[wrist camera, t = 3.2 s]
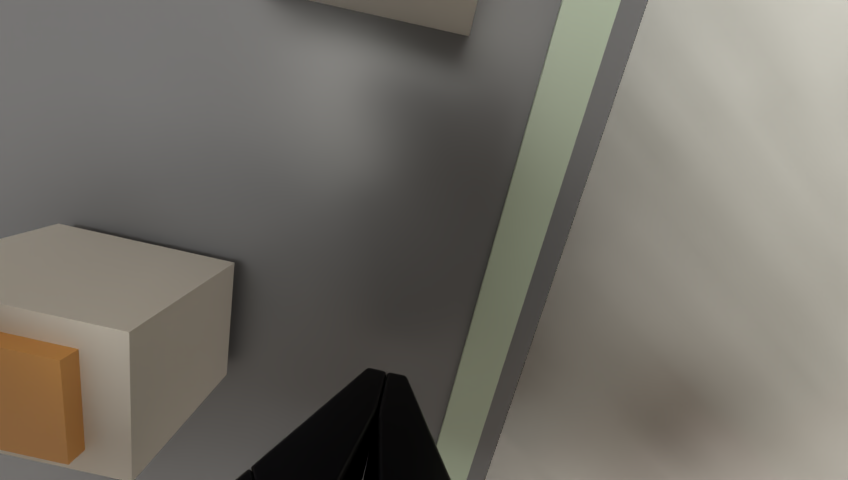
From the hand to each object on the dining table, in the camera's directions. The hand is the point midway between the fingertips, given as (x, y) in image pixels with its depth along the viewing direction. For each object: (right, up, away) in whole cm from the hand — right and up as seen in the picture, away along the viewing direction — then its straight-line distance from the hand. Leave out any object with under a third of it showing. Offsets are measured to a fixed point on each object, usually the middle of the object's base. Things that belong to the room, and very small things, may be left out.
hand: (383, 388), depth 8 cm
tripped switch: (-6, +2, +1) cm, 6 cm away
